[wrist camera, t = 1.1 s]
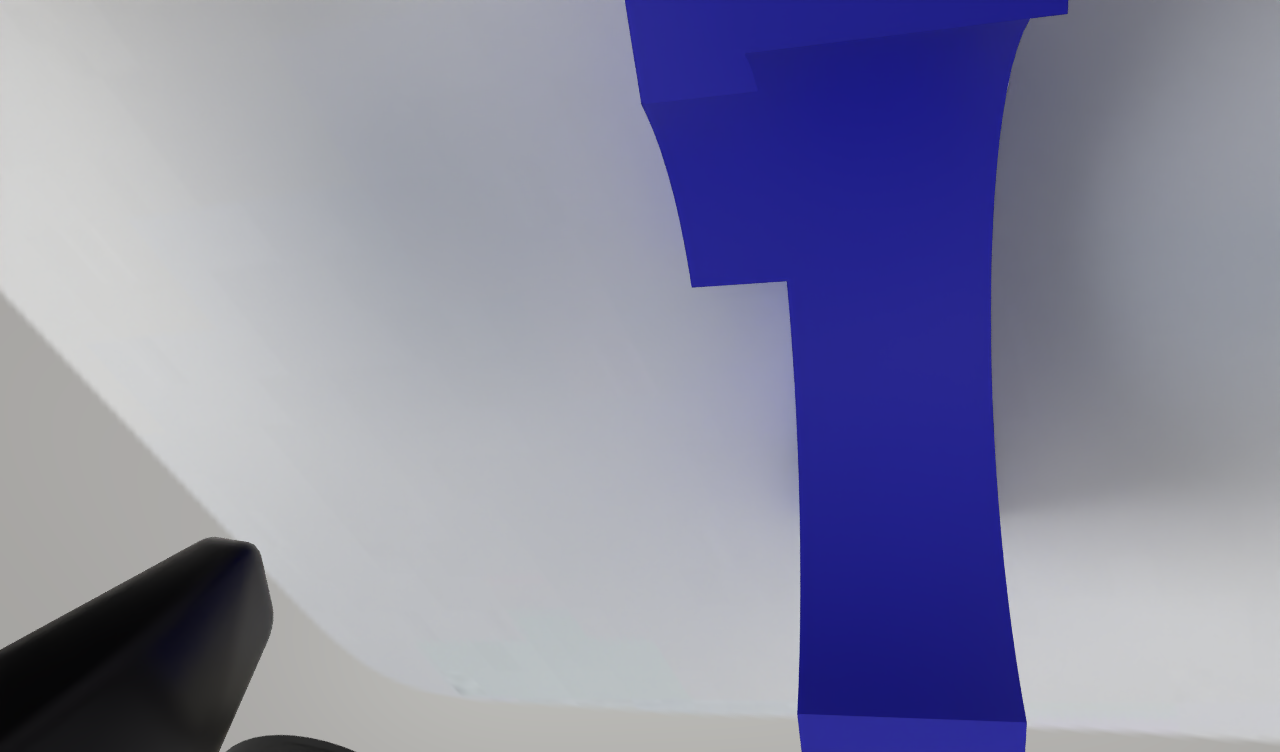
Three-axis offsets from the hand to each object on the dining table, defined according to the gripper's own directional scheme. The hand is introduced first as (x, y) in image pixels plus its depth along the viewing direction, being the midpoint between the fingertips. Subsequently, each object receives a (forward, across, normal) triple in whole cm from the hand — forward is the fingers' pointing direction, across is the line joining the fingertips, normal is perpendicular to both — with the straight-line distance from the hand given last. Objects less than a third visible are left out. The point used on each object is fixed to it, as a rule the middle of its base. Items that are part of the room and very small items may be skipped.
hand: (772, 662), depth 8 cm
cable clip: (+10, 0, 0) cm, 10 cm away
